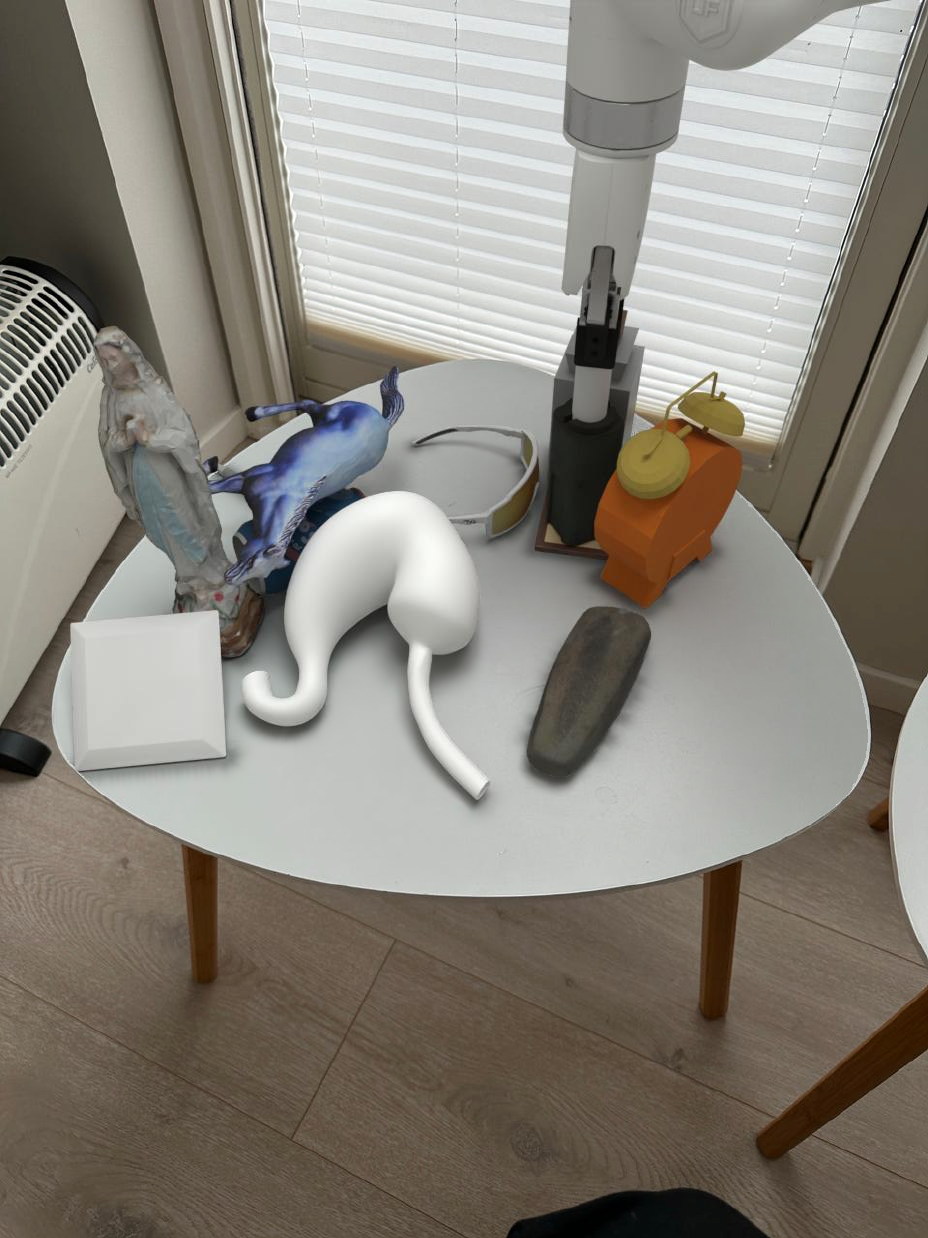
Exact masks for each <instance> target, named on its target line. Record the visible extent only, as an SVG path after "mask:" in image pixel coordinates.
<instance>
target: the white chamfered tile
mask: <svg viewBox="0 0 928 1238" xmlns="http://www.w3.org/2000/svg"><path fill="white" fill-rule="evenodd" d="M69 627H70V658H71V661H70V662H71V664H70V665H71V697H72V733H73V765H74V767H73V769H74V771H75V772H82V771H91V770H103V769H104V770H105V769H115V768H124V767H125V768H126V767H132V766H133V767H134V766H135V767H136V766H145V765H154V764H155V765H156V764H165V763H175V762H187V761H197V760H207V759H218V758H225V757H226V756H227V743H226V741H227V740H226V725H225V724H226V723H225V706H224V705H225V703H224V685H223V670H222V669H223V668H222V656H221V648H220V629H219V612H218V611H217V610H212V611H201V612H190V613H178V614H173V613H168V614H157V615H147V616H135V617H125V618H123V617H122V618H111V619H100V620H89V621H78V622H71V623H70V625H69Z"/></svg>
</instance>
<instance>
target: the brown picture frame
mask: <svg viewBox="0 0 928 1238" xmlns="http://www.w3.org/2000/svg"><path fill="white" fill-rule="evenodd" d="M544 496H545V497H544V502H543V506H542V510H541V515H540V520H539V525H538V528H537V529H538V530H537V535H536V539H535V545H534V551H537V552H544V553H552V554H558V555H559V554H560V555H565V556H574V557H581V558H588V559H597V560H603V561H607V560H608V557H609V554H608V553H606V552H605V551H603V550H602V549H601V547H600V546H599V544H598V542H597V540H596V539H594V540H591V541H588V542H586V543H583V544H580V545H577V546H569V545H566V544H564V543H563V542H562V541H561V537H560V535H559V534H558V533H557V531H556V530H555V529H554V527H553V526H552V525H551V523H548V522H547V520H546V514H547V499H548V491H547V490H546V493H545V495H544Z"/></svg>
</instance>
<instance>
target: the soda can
mask: <svg viewBox="0 0 928 1238" xmlns="http://www.w3.org/2000/svg"><path fill="white" fill-rule="evenodd" d="M366 497H367V496H366V495H365V494H364V493H363V491H361V489H359V488H357V487H355V486H352V487H349V488H346V487H345V488H343V489H342V490H340V491H338V492H336V493H334V494H332V495H329V496H327V497H325V498H322V499H319V500H317V501H316V502H315V503H314V504H312V505H311V506H310V507H309V508H308V509H307V511H306V513H305V516H304V518H303V519H302V520H301V522H300V523H299V525H298V526H297V528H296V529H295V531H294V532H293V534H292V537H291V539H290V541H289V543H288V546H287V549H286V552H285V554H284V558H285V560H289V561H290V563H289V565H288V566H286V567H285V568H282V569H274V570H272V571H271V572H270V574H269V575H268V576H267V577H266V578H257V577H253V578H249V579H247V580H246V581H247V583H248V584H249V586H250V587H251V589H253V590H254V591H255V592H256V593H259V594H260V595H272V596H275V595H276V596H277V595H279V594H281V593H284V592H285V591H286V592H287V590H288V586H289V582H290V579H291V576H292V573H293V570H294V568H295V565H296V563H297V561H298V559H299V557H300V555H301V553H302V551H303V549H304V548H305V546H306V544H307V543H308V541H309V540H310V539H311V537H312V536H313V535H314V533H315V532H316V531H317V530H318V529H319V528H320V527H321V526H322V525H323V524H324V523H325V522H326V521H327V520H328V519H329V518H331V517H332V516H333V515H335V514H336V513H337V512H339V511H340V510H342V509H344V508H345V507H347V506H349V505H351V504H352V503H354V502H357V501H359V500H361V499H363V498H366ZM253 535H254V534H253V518H251V519H250V520H247V521H244V522H242V524H241V525H240V527H239V528H238V529H237V530H236V532H234V533H233V535H232V537H231V538H232V539H231V541H232V547H233V550H234V551H233V552H234V555H235V558H236V561H237V560H238V558H239V554H240V551H241V549H242V547H243V546H244V544H245V543H246V542H247V541H248V540H250V539H252V537H253Z"/></svg>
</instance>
